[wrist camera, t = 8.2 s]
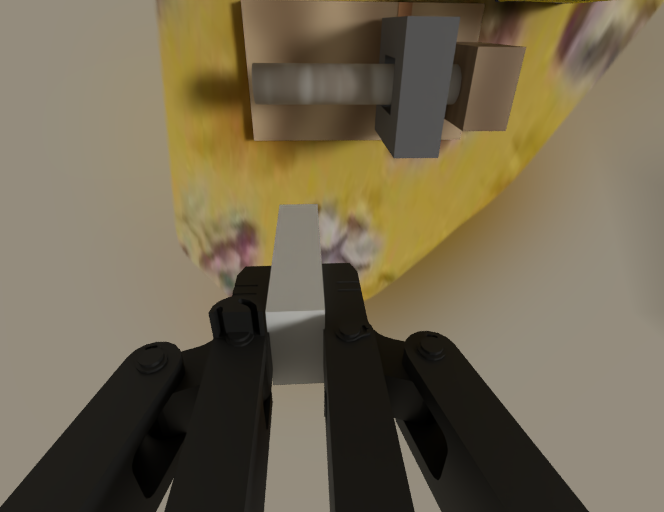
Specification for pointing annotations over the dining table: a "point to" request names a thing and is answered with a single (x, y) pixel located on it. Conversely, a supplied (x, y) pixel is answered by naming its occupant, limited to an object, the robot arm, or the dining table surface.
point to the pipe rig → (361, 69)
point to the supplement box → (556, 1)
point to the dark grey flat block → (416, 83)
